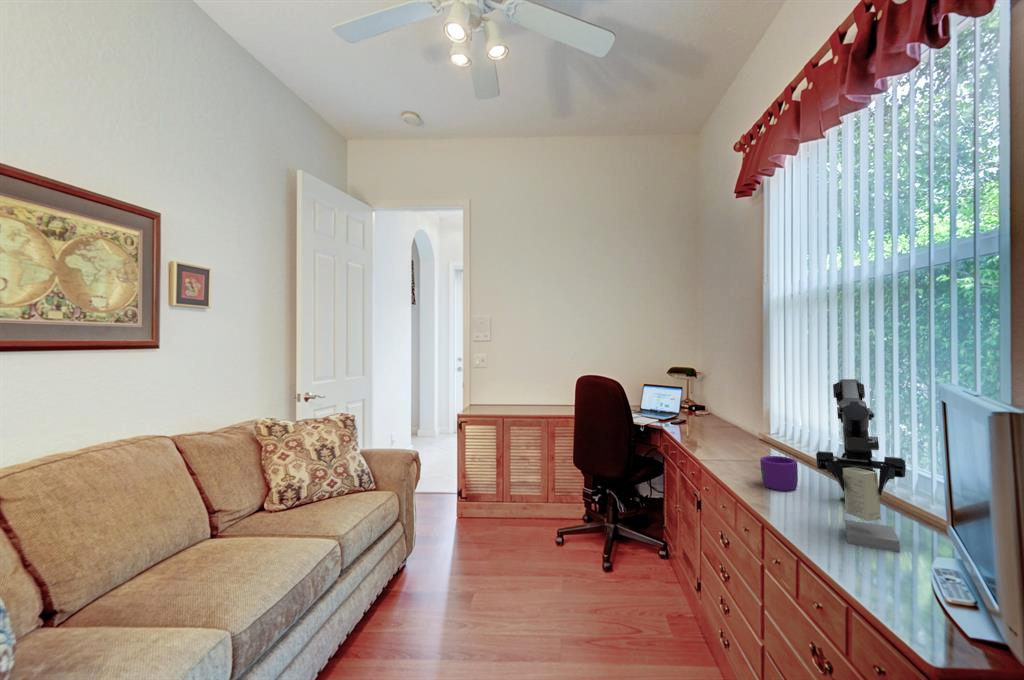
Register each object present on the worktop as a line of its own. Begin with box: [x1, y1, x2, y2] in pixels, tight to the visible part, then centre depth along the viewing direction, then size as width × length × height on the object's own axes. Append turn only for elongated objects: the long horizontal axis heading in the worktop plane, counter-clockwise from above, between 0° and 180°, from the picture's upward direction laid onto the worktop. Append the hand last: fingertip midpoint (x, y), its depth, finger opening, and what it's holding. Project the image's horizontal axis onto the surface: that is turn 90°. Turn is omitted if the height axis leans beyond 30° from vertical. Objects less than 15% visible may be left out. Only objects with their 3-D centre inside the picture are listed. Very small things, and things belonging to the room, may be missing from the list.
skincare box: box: [842, 467, 882, 522], centre depth 113 cm, size 6×4×12 cm
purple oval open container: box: [760, 455, 799, 492], centre depth 157 cm, size 17×11×10 cm, turn 152°
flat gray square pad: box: [844, 519, 901, 553], centre depth 112 cm, size 10×10×3 cm
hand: (861, 492), depth 112 cm, fingers closed on skincare box, 7 cm apart
